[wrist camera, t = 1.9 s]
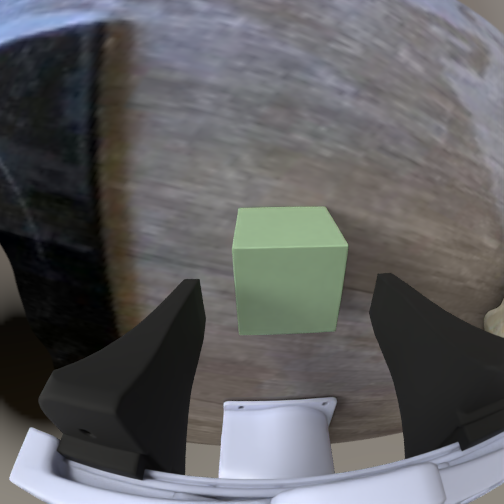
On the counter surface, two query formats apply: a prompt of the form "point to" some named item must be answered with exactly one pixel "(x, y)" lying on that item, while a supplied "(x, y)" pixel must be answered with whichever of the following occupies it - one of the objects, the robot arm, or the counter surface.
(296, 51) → the counter surface
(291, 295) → the sage block
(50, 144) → the counter surface
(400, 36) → the counter surface
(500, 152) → the counter surface
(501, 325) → the ceramic sculpture
